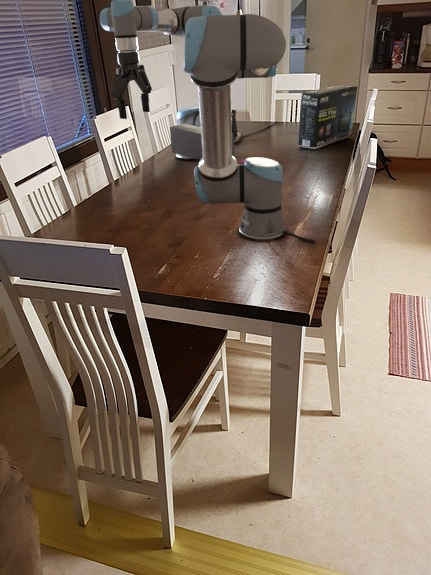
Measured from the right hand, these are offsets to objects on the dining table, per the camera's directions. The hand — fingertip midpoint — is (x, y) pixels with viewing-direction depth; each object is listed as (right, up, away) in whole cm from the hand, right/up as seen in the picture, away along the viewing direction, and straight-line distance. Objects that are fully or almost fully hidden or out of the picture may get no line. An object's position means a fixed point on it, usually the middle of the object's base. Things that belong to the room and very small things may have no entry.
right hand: (221, 159), depth 170 cm
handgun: (+16, +7, +40) cm, 43 cm away
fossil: (+4, +35, +86) cm, 93 cm away
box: (-8, +3, +7) cm, 11 cm away
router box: (+56, +30, +74) cm, 98 cm away
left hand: (-32, +17, +1) cm, 36 cm away
